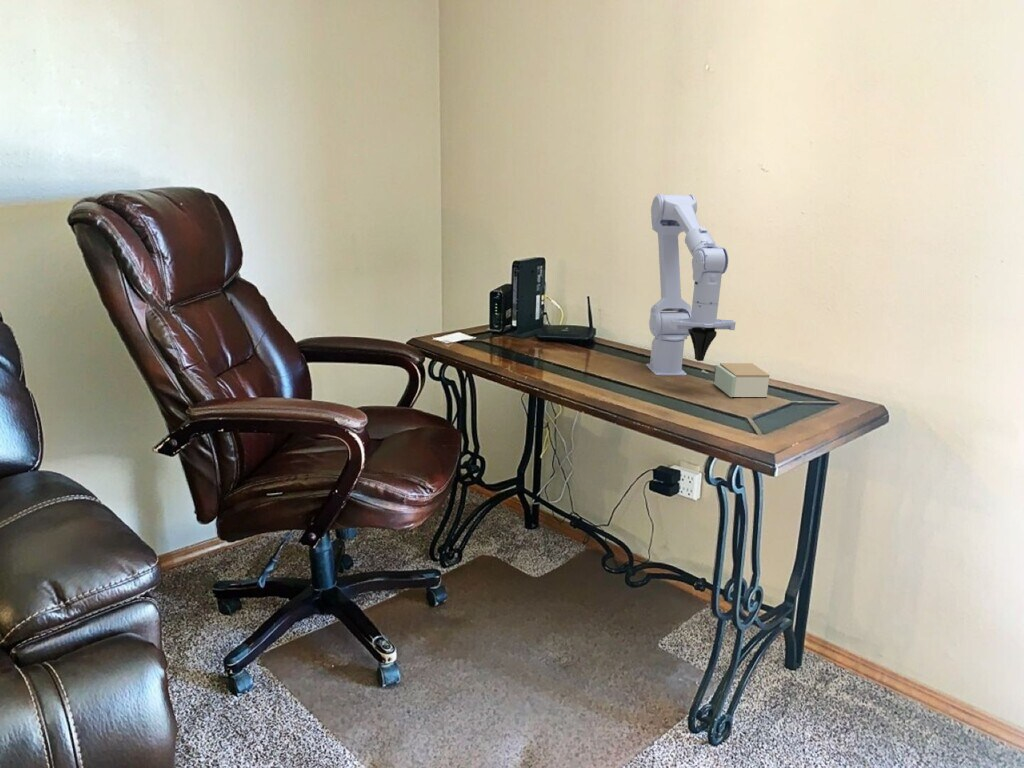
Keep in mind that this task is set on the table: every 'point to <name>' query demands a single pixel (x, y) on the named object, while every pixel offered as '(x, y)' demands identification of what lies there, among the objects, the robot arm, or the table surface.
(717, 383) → the door
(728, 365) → the cabinet
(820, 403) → the table surface
